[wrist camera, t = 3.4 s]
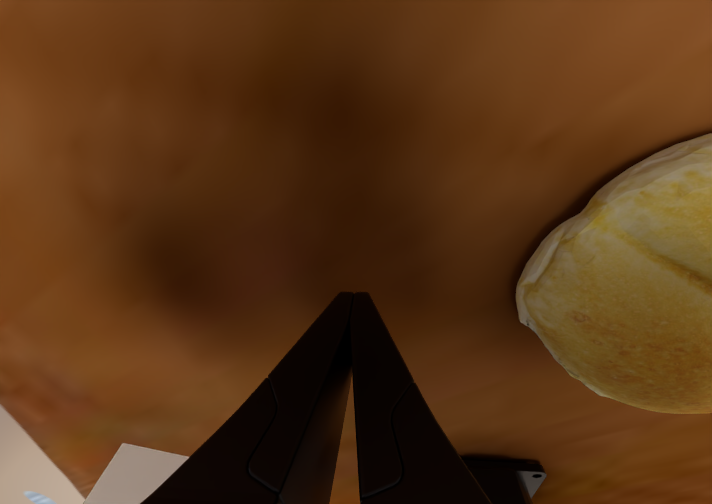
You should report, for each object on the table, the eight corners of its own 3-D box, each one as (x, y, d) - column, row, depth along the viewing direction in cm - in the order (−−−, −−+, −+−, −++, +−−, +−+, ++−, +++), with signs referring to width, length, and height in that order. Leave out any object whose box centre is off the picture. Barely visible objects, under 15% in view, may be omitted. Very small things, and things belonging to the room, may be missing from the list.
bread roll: (886, 229, 8) (1232, 331, 5) (595, 370, 12) (676, 479, 9) (773, 24, 6) (1246, -43, 3) (464, 276, 10) (507, 372, 7)
